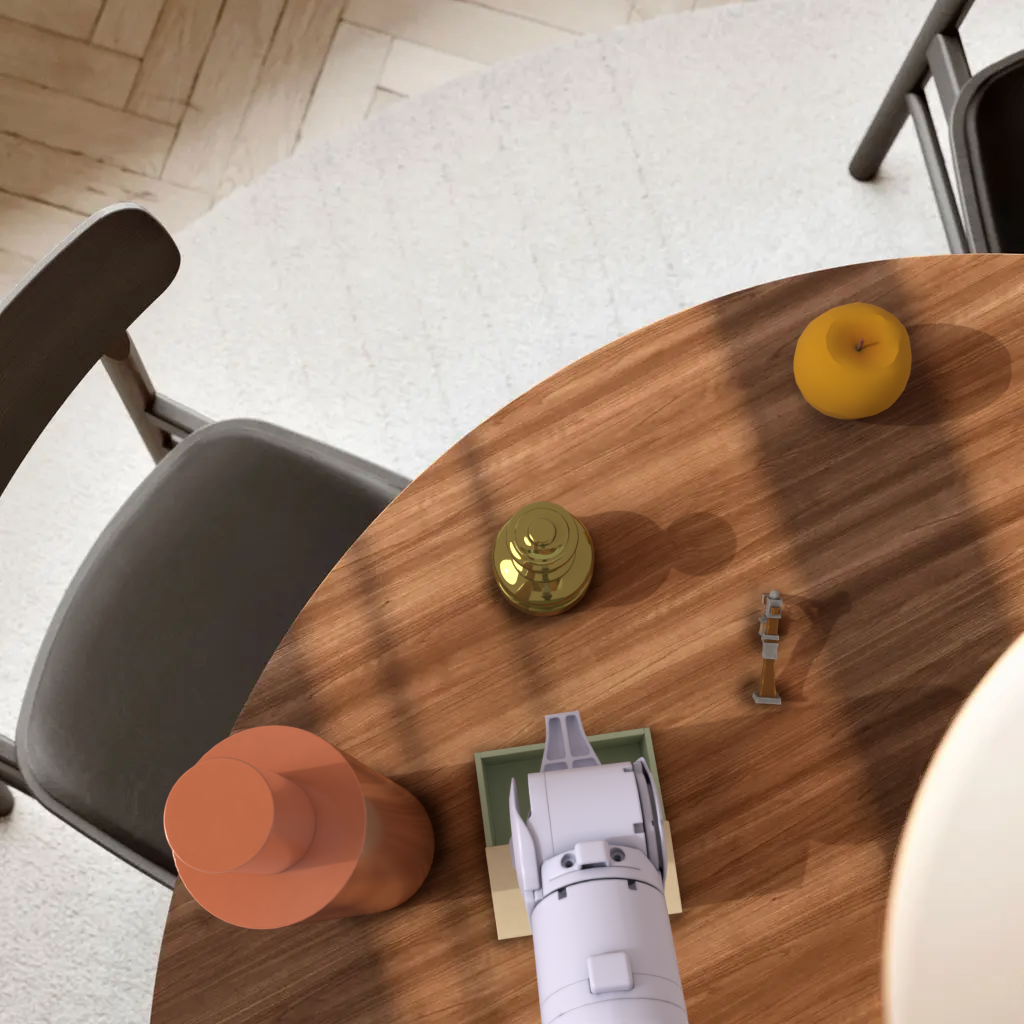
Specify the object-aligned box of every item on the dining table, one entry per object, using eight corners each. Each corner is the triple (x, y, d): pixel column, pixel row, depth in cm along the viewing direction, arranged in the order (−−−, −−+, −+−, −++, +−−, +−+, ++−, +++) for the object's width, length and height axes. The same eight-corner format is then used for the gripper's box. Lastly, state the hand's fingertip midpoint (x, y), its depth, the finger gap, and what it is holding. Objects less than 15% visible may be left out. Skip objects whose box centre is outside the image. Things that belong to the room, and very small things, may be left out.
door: (681, 910, 73) (682, 912, 73) (498, 938, 73) (498, 939, 73) (668, 820, 73) (668, 821, 73) (485, 847, 73) (485, 848, 73)
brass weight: (608, 545, 87) (614, 504, 78) (568, 634, 85) (569, 602, 76) (519, 507, 88) (515, 462, 79) (478, 594, 87) (468, 558, 77)
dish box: (673, 910, 79) (682, 912, 74) (502, 936, 79) (498, 940, 74) (643, 737, 83) (649, 727, 77) (480, 761, 83) (474, 753, 77)
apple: (825, 318, 92) (852, 262, 84) (915, 381, 90) (951, 329, 82) (760, 394, 91) (780, 344, 82) (850, 460, 89) (880, 415, 80)
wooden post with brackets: (779, 581, 85) (790, 592, 80) (771, 688, 86) (782, 705, 81) (754, 580, 85) (763, 591, 81) (747, 687, 86) (756, 703, 81)
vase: (403, 934, 79) (272, 976, 43) (285, 882, 81) (63, 881, 45) (454, 808, 82) (370, 748, 46) (339, 760, 83) (169, 665, 47)
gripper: (487, 712, 62) (500, 741, 75) (527, 1002, 58) (533, 980, 71) (618, 692, 62) (608, 725, 75) (667, 981, 58) (647, 963, 71)
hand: (579, 847), depth 73 cm, fingers closed
